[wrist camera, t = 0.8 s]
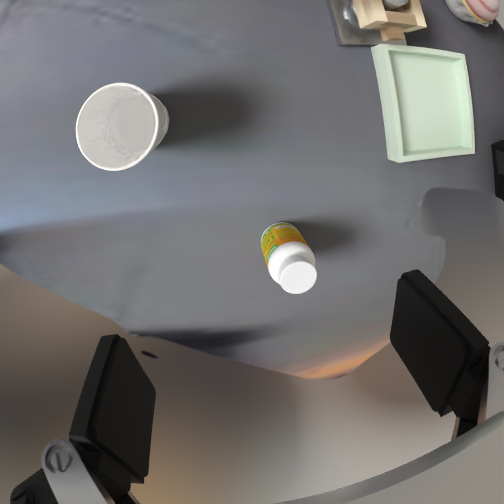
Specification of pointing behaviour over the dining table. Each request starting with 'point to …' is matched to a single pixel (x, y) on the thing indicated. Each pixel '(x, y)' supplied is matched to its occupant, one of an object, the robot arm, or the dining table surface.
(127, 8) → the dining table surface
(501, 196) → the digital camera
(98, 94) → the white cup
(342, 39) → the grey stand
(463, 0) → the cupcake
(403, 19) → the wooden square frame
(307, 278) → the supplement bottle
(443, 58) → the tray
